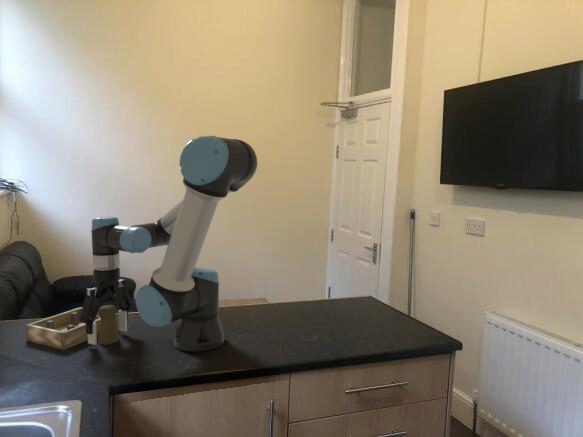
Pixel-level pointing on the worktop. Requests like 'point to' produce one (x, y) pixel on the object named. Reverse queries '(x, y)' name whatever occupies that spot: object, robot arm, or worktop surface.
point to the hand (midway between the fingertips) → (108, 336)
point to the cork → (107, 325)
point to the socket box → (60, 330)
